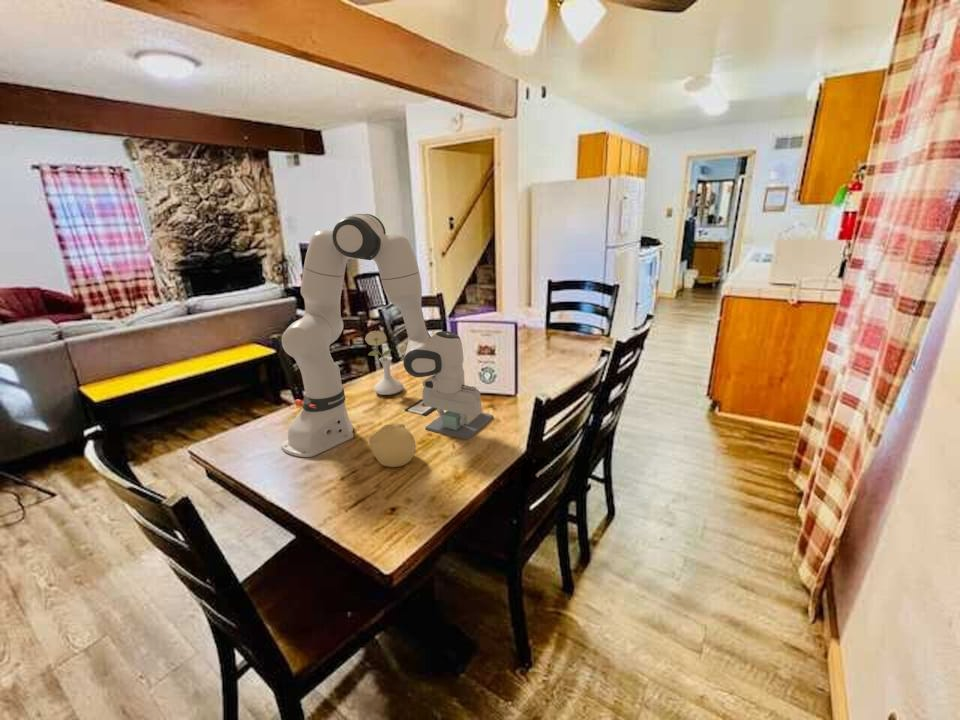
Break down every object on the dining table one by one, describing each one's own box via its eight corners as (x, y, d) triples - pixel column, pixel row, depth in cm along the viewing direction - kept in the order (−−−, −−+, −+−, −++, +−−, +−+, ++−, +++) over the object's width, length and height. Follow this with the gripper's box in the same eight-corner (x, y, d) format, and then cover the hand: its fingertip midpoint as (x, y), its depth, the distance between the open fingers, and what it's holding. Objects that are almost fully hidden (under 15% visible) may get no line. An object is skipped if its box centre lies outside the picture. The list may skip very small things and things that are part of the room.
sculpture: (397, 445, 133) (393, 413, 129) (424, 458, 125) (421, 425, 122) (366, 462, 124) (361, 428, 121) (393, 477, 117) (389, 441, 114)
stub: (456, 430, 139) (455, 417, 137) (443, 426, 141) (442, 414, 139) (462, 424, 142) (462, 412, 140) (449, 421, 144) (449, 409, 143)
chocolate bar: (453, 395, 166) (425, 414, 151) (454, 397, 166) (425, 417, 151) (434, 391, 170) (404, 409, 155) (434, 393, 170) (405, 411, 156)
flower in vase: (406, 386, 177) (401, 326, 169) (399, 397, 166) (393, 334, 158) (375, 385, 178) (368, 326, 170) (366, 397, 168) (358, 334, 159)
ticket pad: (468, 440, 135) (467, 424, 133) (425, 429, 142) (424, 414, 140) (493, 417, 149) (492, 403, 147) (453, 408, 156) (452, 395, 154)
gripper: (484, 384, 134) (485, 424, 139) (429, 374, 144) (432, 412, 148) (474, 391, 129) (476, 433, 134) (418, 381, 138) (421, 420, 143)
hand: (452, 422), depth 141 cm, fingers closed on stub, 5 cm apart
